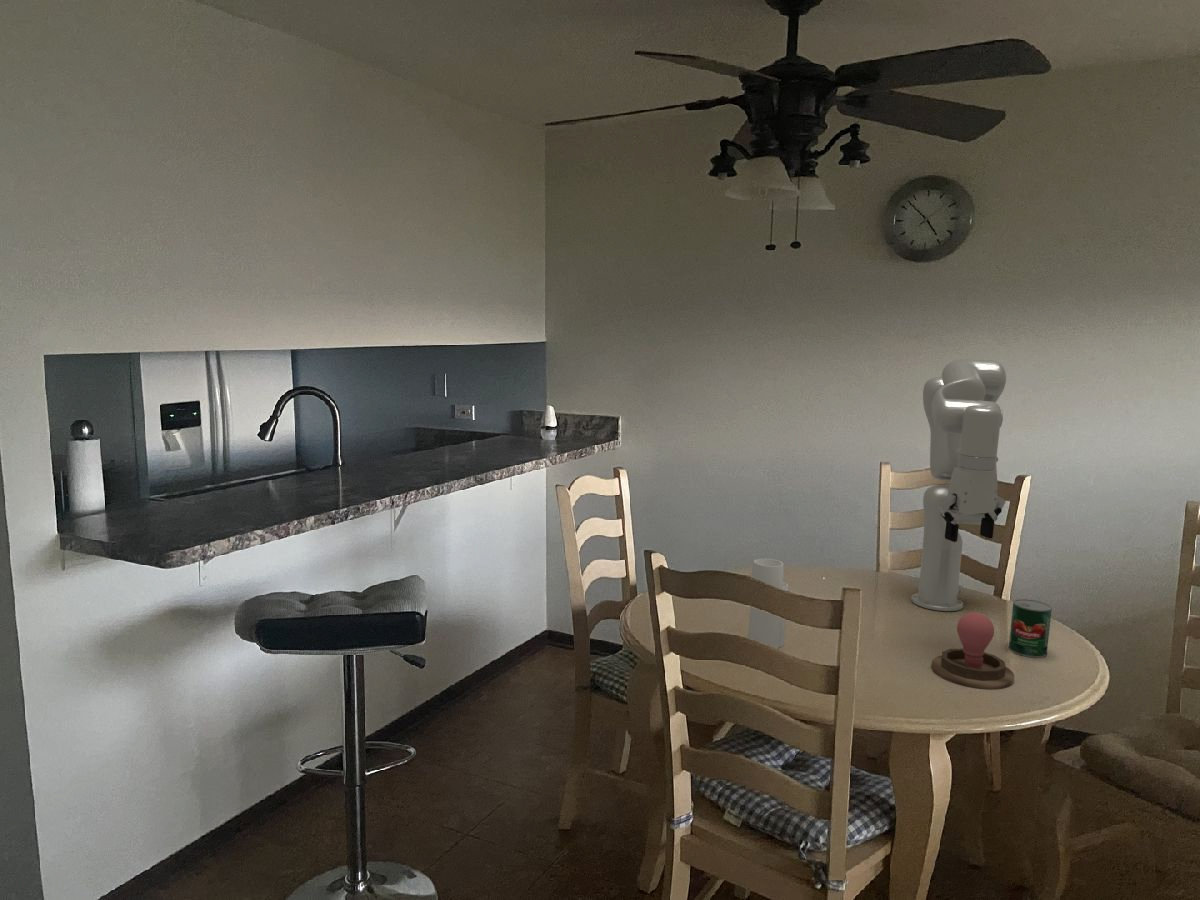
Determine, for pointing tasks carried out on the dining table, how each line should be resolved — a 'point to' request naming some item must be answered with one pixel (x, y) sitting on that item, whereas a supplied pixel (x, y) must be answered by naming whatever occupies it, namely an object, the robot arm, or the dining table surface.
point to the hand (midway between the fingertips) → (968, 538)
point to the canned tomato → (1030, 628)
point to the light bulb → (975, 637)
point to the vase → (761, 622)
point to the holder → (973, 670)
